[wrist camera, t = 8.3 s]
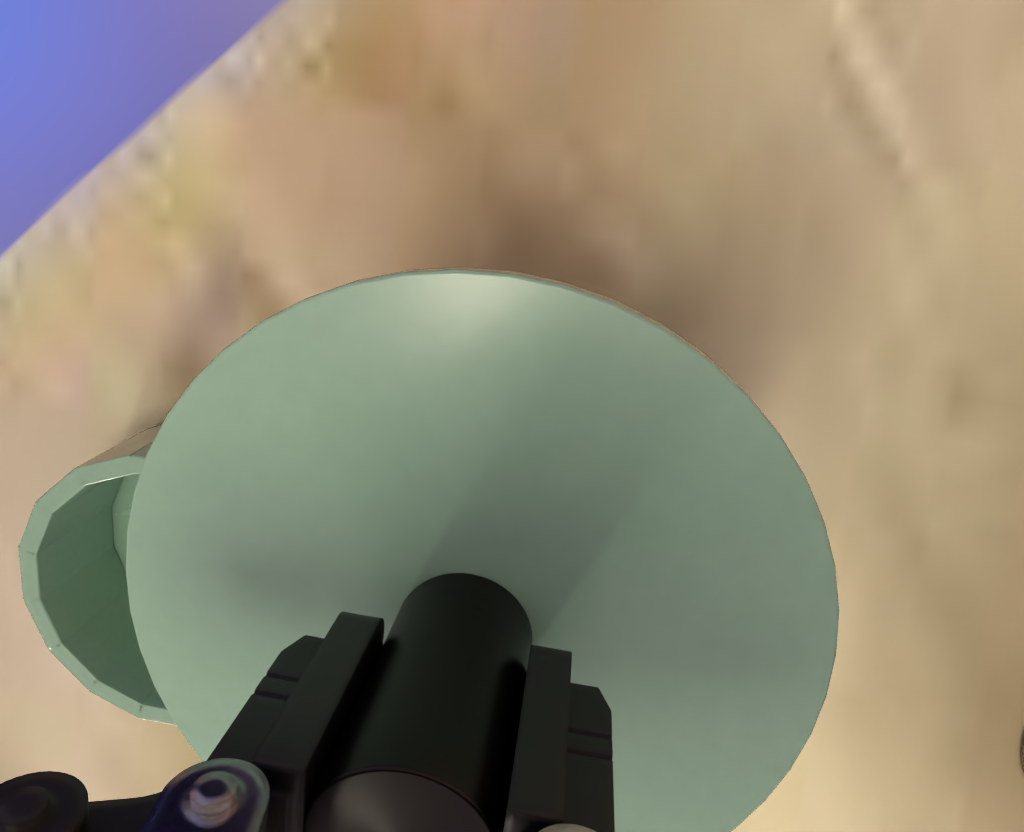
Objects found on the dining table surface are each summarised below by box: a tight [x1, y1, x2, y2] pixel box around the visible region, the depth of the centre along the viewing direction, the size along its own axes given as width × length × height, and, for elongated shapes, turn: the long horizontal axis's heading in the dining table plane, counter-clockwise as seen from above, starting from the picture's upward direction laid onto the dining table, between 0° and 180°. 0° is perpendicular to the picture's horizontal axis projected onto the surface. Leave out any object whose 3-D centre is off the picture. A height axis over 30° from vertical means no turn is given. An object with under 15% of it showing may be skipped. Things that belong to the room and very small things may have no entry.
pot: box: [19, 425, 176, 725], centre depth 33 cm, size 13×13×6 cm
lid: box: [126, 267, 839, 832], centre depth 12 cm, size 14×14×6 cm
